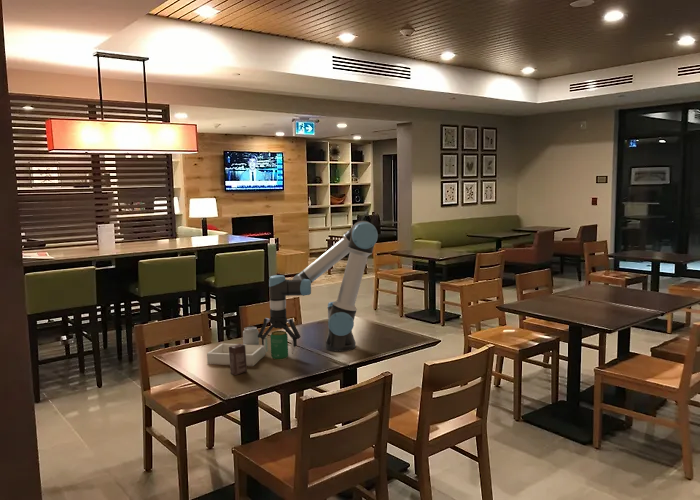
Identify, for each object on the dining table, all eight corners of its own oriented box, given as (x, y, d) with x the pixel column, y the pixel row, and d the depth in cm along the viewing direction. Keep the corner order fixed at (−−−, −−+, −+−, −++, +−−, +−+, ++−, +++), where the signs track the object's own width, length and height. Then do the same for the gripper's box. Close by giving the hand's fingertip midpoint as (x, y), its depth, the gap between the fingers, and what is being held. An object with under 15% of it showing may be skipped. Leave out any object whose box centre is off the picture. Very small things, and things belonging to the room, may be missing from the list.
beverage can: (291, 355, 267) (290, 331, 266) (282, 360, 260) (281, 335, 259) (277, 354, 271) (276, 329, 269) (267, 358, 264) (267, 333, 262)
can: (255, 354, 271) (255, 330, 269) (241, 353, 272) (240, 329, 271) (261, 349, 278) (260, 326, 277) (247, 349, 280) (246, 325, 278)
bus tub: (265, 355, 269) (264, 345, 268) (252, 366, 253) (252, 355, 253) (222, 353, 273) (221, 343, 273) (207, 363, 258) (207, 353, 257)
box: (240, 369, 249) (239, 343, 247) (247, 371, 246) (246, 344, 245) (229, 373, 244) (228, 346, 243) (236, 375, 241) (234, 348, 240)
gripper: (306, 307, 264) (307, 351, 266) (255, 306, 269) (257, 349, 271) (301, 310, 257) (302, 356, 259) (249, 309, 262) (251, 353, 264)
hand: (279, 352), depth 265 cm, fingers open, 13 cm apart
